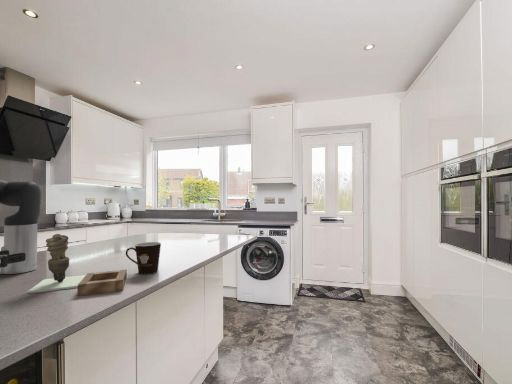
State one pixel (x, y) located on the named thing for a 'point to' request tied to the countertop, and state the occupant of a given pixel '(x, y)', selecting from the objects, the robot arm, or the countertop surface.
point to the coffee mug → (146, 257)
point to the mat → (57, 284)
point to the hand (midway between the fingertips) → (16, 255)
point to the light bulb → (58, 256)
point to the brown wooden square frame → (102, 282)
